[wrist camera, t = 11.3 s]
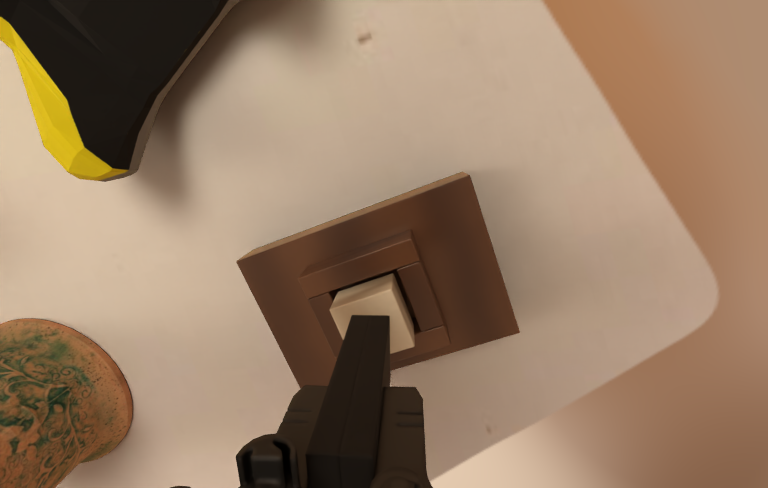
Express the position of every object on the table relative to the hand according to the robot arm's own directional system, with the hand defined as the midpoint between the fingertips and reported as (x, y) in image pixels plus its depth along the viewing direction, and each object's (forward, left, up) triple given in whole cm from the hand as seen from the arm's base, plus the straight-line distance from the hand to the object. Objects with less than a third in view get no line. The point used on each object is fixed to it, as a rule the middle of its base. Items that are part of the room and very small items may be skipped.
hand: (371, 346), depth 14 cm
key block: (0, 0, -7) cm, 7 cm away
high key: (0, 0, -4) cm, 4 cm away
